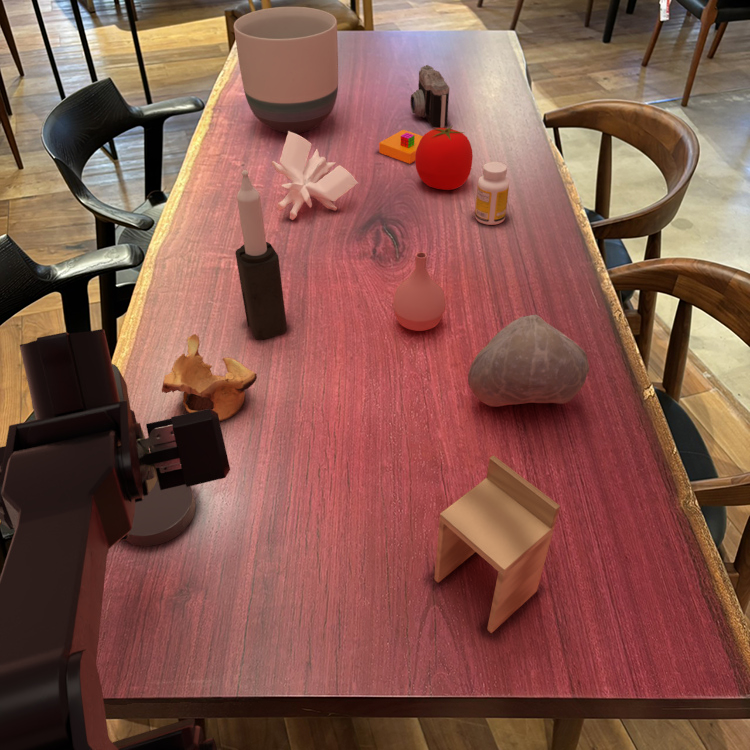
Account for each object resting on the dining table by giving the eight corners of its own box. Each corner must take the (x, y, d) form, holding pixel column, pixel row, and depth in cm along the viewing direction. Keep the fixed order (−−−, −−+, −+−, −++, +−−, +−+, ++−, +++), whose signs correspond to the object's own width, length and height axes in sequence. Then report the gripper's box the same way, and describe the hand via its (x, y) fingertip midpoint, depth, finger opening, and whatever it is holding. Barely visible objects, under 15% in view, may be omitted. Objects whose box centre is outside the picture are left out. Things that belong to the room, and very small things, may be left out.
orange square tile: (379, 152, 147) (378, 132, 144) (403, 139, 151) (403, 119, 148) (409, 164, 143) (410, 143, 140) (433, 150, 148) (434, 130, 145)
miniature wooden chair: (491, 633, 70) (508, 550, 61) (434, 579, 75) (441, 493, 65) (537, 591, 74) (560, 505, 64) (479, 541, 78) (493, 454, 68)
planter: (234, 142, 151) (217, 35, 136) (266, 104, 166) (254, 4, 151) (327, 151, 148) (320, 42, 133) (351, 111, 162) (347, 9, 147)
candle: (245, 321, 107) (218, 165, 90) (277, 312, 108) (257, 157, 91) (256, 341, 103) (230, 183, 86) (289, 332, 105) (270, 174, 88)
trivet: (162, 558, 77) (158, 547, 76) (97, 528, 80) (92, 518, 79) (211, 497, 83) (208, 486, 82) (148, 471, 86) (144, 460, 84)
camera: (403, 104, 165) (404, 59, 158) (431, 101, 166) (433, 56, 159) (419, 131, 154) (421, 84, 147) (449, 128, 155) (452, 81, 148)
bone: (166, 431, 91) (152, 384, 85) (173, 379, 98) (160, 331, 92) (262, 423, 92) (253, 375, 86) (262, 371, 99) (254, 324, 93)
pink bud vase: (441, 343, 103) (446, 273, 95) (388, 337, 104) (389, 268, 96) (446, 310, 108) (451, 242, 100) (396, 305, 109) (397, 237, 101)
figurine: (311, 250, 134) (348, 195, 139) (328, 227, 123) (367, 169, 128) (243, 202, 131) (284, 148, 136) (254, 174, 121) (298, 116, 125)
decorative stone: (567, 373, 98) (588, 284, 87) (592, 429, 90) (618, 338, 80) (458, 383, 97) (467, 293, 86) (475, 440, 89) (486, 349, 79)
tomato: (455, 203, 132) (459, 148, 124) (405, 189, 136) (406, 134, 128) (480, 179, 138) (485, 125, 131) (431, 167, 142) (434, 113, 135)
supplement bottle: (504, 210, 130) (510, 160, 123) (505, 226, 126) (512, 175, 119) (474, 209, 130) (479, 158, 123) (474, 225, 126) (479, 173, 119)
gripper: (201, 344, 56) (206, 359, 71) (-56, 395, 52) (7, 400, 67) (232, 482, 56) (230, 468, 71) (-24, 545, 52) (32, 516, 67)
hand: (127, 460), depth 69 cm, fingers closed on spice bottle, 5 cm apart
